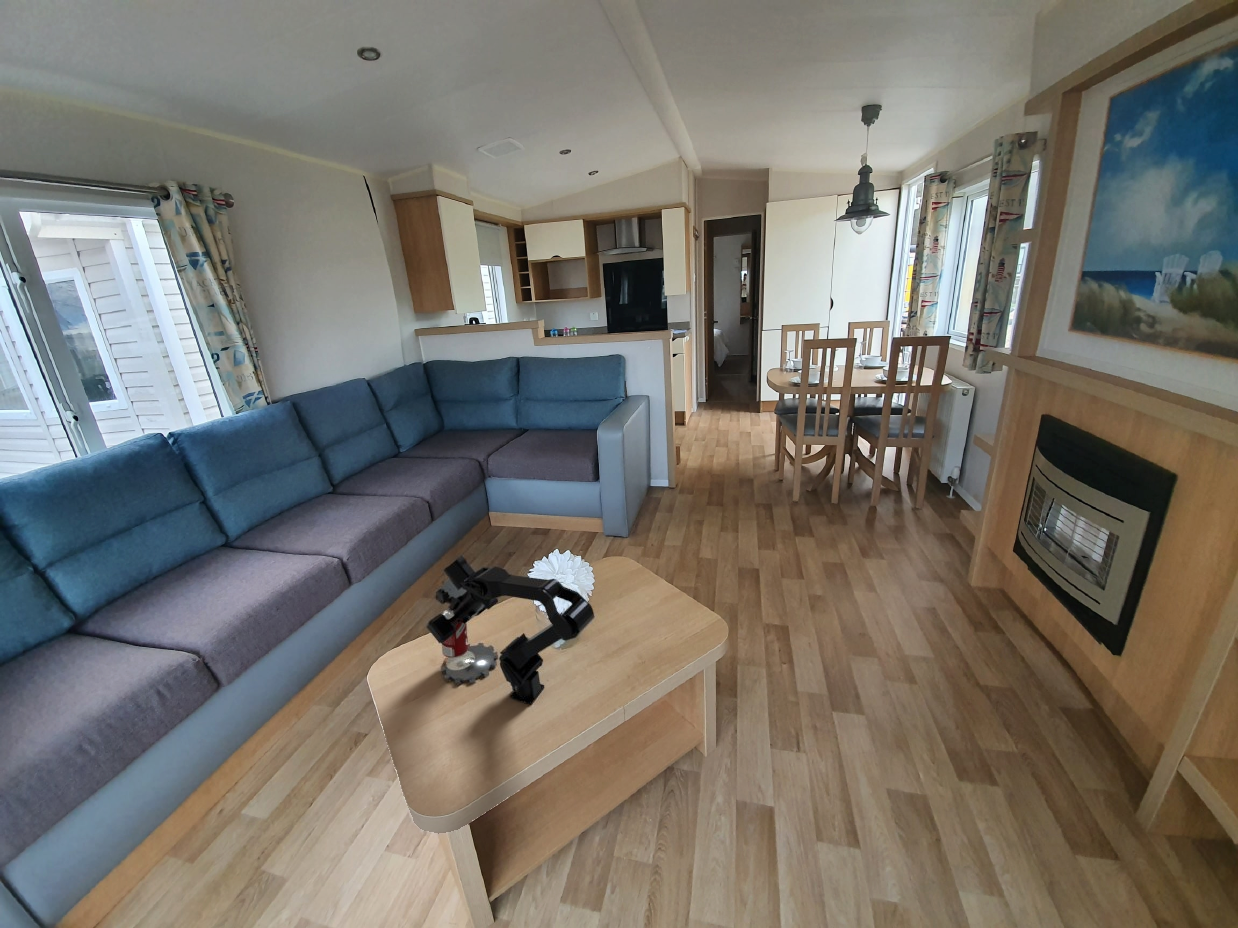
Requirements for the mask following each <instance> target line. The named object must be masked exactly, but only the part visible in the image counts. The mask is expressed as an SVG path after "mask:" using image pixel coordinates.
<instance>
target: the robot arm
mask: <svg viewBox="0 0 1238 928" xmlns="http://www.w3.org/2000/svg"><path fill="white" fill-rule="evenodd" d="M442 572H443V573H444V574H445V576H446V577H447V578H448V579H449V580H448V581H446V582H445V583H443V584H442V585H440V587H439V588H438V589H437V591H435V597H434V598H435V600H436V601H437V602H438V603H440V604H441V605H444V604H448V609H450V610H451V611H452V610H453V614H454V616H453V617H452V618H450V619H447V618H446V617H445V616H444V615H443V613H439V614H437V615H436V616H434V617H433V618H432V619H430V620H429V621H428V622H427V623H426V628H427V630H428V631H429V632H430V634H431V635H432V636H433V637H434V639H435V640H436V641H437V643H439V644H442V643H443V642H445V641H446V640H447V639H449V638H450V637H451V636H452V635H453V634H455V633H456V631H455V629H456V625H458V624H459V623H460V622H463V623H464V624H465V623H469V621H471V620H472V619H473V618H475V617H477V616H479V615H481V614H482V613H483V612H485V611H486V610H490V609H492V607H494V606H496V604H498V603H499V600H498V599H499V598H501V597H510V598H517V599H522V600H523V599H524V600H531V601H536V602H539V603H540V604H541V605H542V606H543V607H544V609H545V612H546V615H547V619H548V621H549V622H550V624H549V625H548V626H546V627H544V628H542V629H541V630H540V631H538V632H537V633H535V634H534V635H532V636H531V637H527V636H526V634H525V633H524V632H523V633H522V634H521V635H520V636H516V637H515V638H514V639H513V640H512V641H511V642H510V643H509V644H508V645H507V646H505V647H504V648H503V649H502V650H501V651H500V652H499V654H500V656H498V660H499V667H500V669H501V671H502V674H503V676H504V679H505V680H506V682H508V683H509V684H510V686H511V689H512V693H511V694H510V696H509V698H510V699H511V700H513V701H514V700H515V701H517V702H521V703H524V704H525V705H526V704H527V705H532V704H533V703H534V702H535V701H536V700H537V698H538V697H539V695H540V694H541V693H542V692H543V690H544V689H545V685H544V684H541V681H540V674H539V671H537V670H539V668H540V667H542V666H543V662H544V659H543V658H542V656H541V655H540V653H541V652H542V651H545V650H546V649H547V648H549V647H551V646H552V645H554V644H556V643H558V642H559V641H560V640H562V641H565V642H566V641H570V640H573V639H576V638H577V637H578V636H579V635H580V634H581V633H582V632H583V631H584V629H586V627H588V625H590V623H591V622H592V621H593V620H594V619H595V612H594V609H593V607H592V604H590V603H589V602H588V600H587V599H585V598H584V597H583V596H582V594H580V592H578V591H576V590H573V589H571V588H568V587H565V586H564V585H563V584H562V583H561V582H560V581H559V580H558V579H556V578H551V579H546V578H545V579H544V578H538V577H528V576H521V575H515V574H510V573H509V571H507V569H505V568H502V567H498V566H491V567H489V566H488V567H486V566H482V567H481V568H480V569H478V570H476V571H475V570H474V569H473V568H472V566H471V565H470V564H469V563H468V561H467V559H466V558H465V557H464V556H463V555H460V556H459V557H458V558H456V559H455V560H454V561H453V562H452V563H450V564H449V565H448V566H446V567H445V568H444V569H443V571H442ZM556 598H559V599H562V600H564V601H567V602H569V603H571V604H570V605H569V606H568V607H567V608H566V609H565V610H564V611H563V612H562V613H560V612H559V611H558V609H557V606H556V603H555V600H554V599H556ZM456 619H458V620H456ZM455 620H456V621H455ZM454 621H455V622H454ZM452 622H454V623H452Z"/></svg>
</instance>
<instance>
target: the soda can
mask: <svg viewBox="0 0 1238 928" xmlns="http://www.w3.org/2000/svg"><path fill="white" fill-rule="evenodd" d="M442 614H443V615H444V616H445V617H446V618H447V619H450V618H452V617H453V616H454V614H453V610H452V611H451V610H450V609H449V608H448V609H446V610H444V611H443V612H442ZM456 620H458V619H456ZM456 620H455V621H456ZM455 621H454V622H455ZM454 622H452V623H454ZM467 623H468V622H467ZM467 623H465V624H464V623H463V622H460V623H459V624H458V625H456V629H455V631H456V633H455V634H453V635H452V636H451V637H450V638H449V639H447V640H446V641H445V642H443V643H441V652H442V654H443V656H444V657H445V658H456V657H460V656H462V655H464V654H465V653H466V652H467V651H468V644H469V639H468V637H469V635H468V624H467Z"/></svg>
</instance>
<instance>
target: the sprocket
mask: <svg viewBox="0 0 1238 928" xmlns="http://www.w3.org/2000/svg"><path fill="white" fill-rule="evenodd" d="M497 659H498V660H499V654H498V651H495V648H494V646H493V645H491V644H490V645H488V646H485V645H484V643H483V642H478V643H477V645H471V644H470V643H468V651H467V652H466V653H465V654H464V655H462V656H460V657H456V658H448V657H445V658H444V659H443V660H442V662H443V665H444V666H442V667H440V672H441V675H444V676H443V678H444V681H445V682H447V683H449V682H450V681H453V682H454V685H455V686H461V685H462V683H467V682H469V684H470V685H472V684H474V683H475V684H476V683H477V682H476V680H477V679H480V678H482V677H483V678H484V679H485V678H487V677H489V676H490V670H491V669H496V668H497V666H498V662H497Z"/></svg>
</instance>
